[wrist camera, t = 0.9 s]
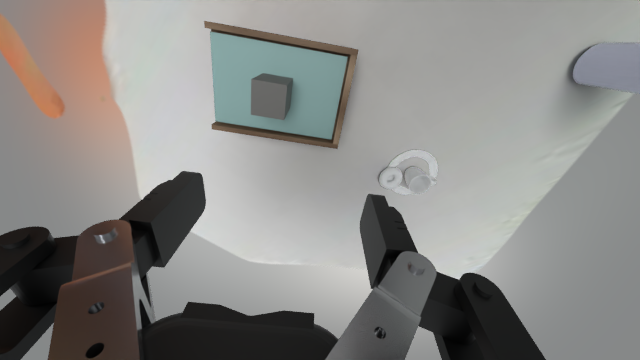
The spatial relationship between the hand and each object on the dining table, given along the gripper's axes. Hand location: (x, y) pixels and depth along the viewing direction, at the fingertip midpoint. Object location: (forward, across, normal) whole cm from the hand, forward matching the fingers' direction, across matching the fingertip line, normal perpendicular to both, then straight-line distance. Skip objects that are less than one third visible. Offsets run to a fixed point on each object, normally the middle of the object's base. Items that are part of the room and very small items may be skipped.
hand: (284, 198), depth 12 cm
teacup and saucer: (+24, -15, +7) cm, 29 cm away
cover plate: (+17, +3, -2) cm, 17 cm away
